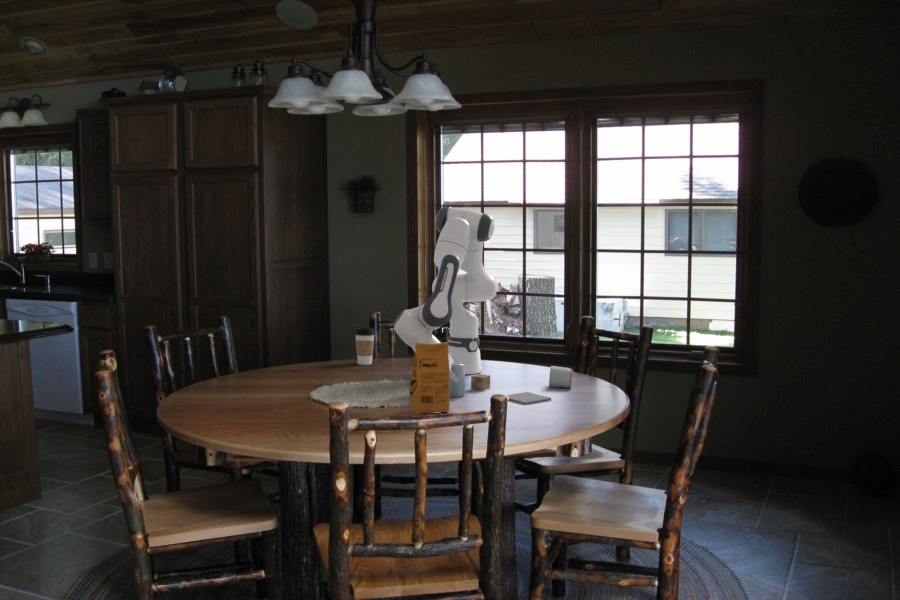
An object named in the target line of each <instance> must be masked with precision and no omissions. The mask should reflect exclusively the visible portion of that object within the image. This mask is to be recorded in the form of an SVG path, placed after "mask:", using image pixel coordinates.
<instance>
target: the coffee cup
mask: <svg viewBox="0 0 900 600" xmlns="http://www.w3.org/2000/svg"><path fill="white" fill-rule="evenodd" d="M354 335H355V348H356V349H355V350H356V357H357V358H356V359H357V365H361V366H367V365H368V366H369V365H372V364H373V355H374V343H375V335H376V333H375V330H374V328H373V327H359V328H355V332H354Z"/></svg>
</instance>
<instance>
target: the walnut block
mask: <svg viewBox="0 0 900 600" xmlns="http://www.w3.org/2000/svg"><path fill="white" fill-rule="evenodd" d="M489 388H490V389H491V375H490V374H484V373H483V374H482V373H476V374H472V375H471V376H470V390H471V389H473V391H478V390H481V391H480V392H485V391H487V390H486V389H488V390H490V389H489ZM484 390H485V391H484Z"/></svg>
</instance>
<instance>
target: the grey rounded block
mask: <svg viewBox="0 0 900 600" xmlns="http://www.w3.org/2000/svg"><path fill="white" fill-rule="evenodd" d="M549 371H550V372H549V378H548V387H549V388H560V387H563V388H564V389H567V388H571V387H572V386H573V385H572V384H573V369H572V368H569V367H563V366H556V365H551V366H550V369H549Z"/></svg>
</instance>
